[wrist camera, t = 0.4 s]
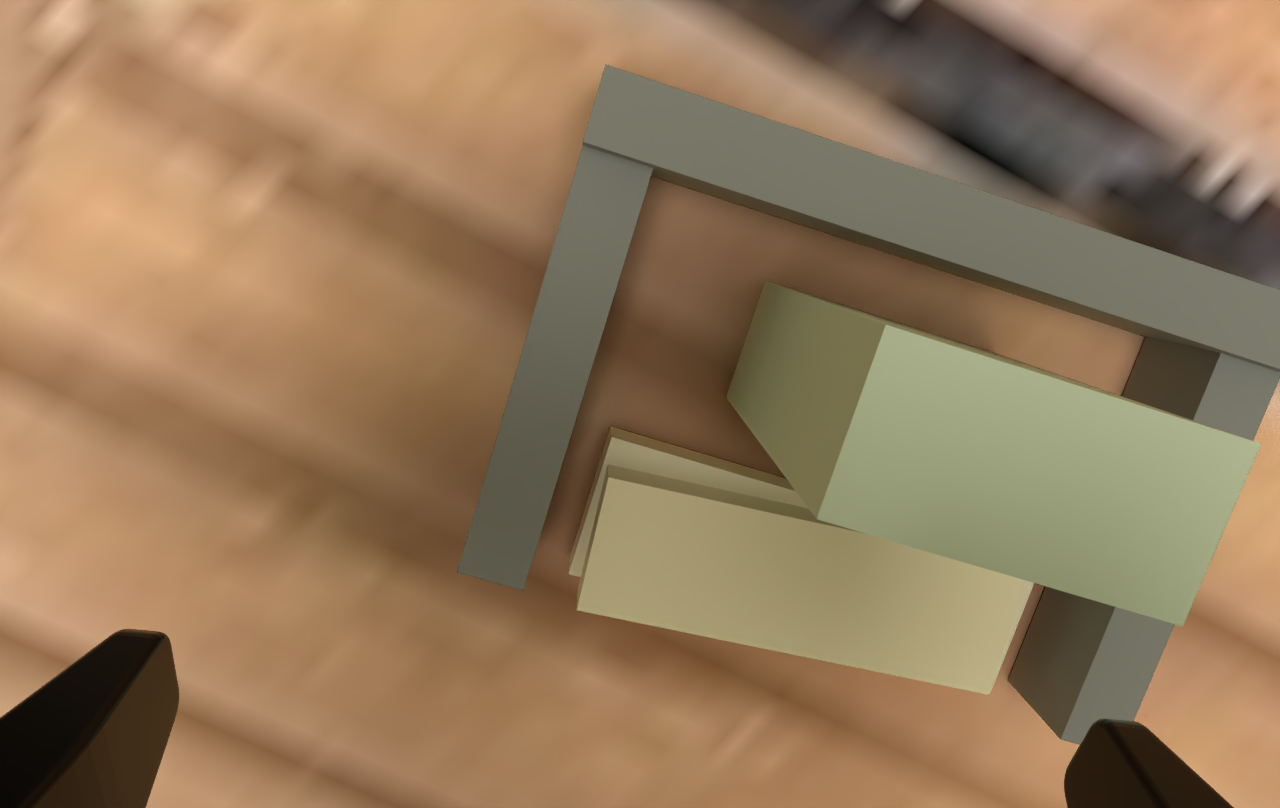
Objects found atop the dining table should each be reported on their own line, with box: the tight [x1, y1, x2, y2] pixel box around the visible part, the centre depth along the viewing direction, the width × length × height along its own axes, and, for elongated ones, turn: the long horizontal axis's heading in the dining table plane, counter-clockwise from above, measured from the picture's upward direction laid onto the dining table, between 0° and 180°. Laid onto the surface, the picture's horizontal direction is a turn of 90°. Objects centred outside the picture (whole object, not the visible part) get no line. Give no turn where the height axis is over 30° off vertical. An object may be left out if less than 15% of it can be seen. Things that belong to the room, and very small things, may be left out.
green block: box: [726, 280, 1261, 626], centre depth 20 cm, size 3×6×10 cm, turn 72°
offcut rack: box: [457, 65, 1280, 745], centre depth 23 cm, size 11×16×4 cm
